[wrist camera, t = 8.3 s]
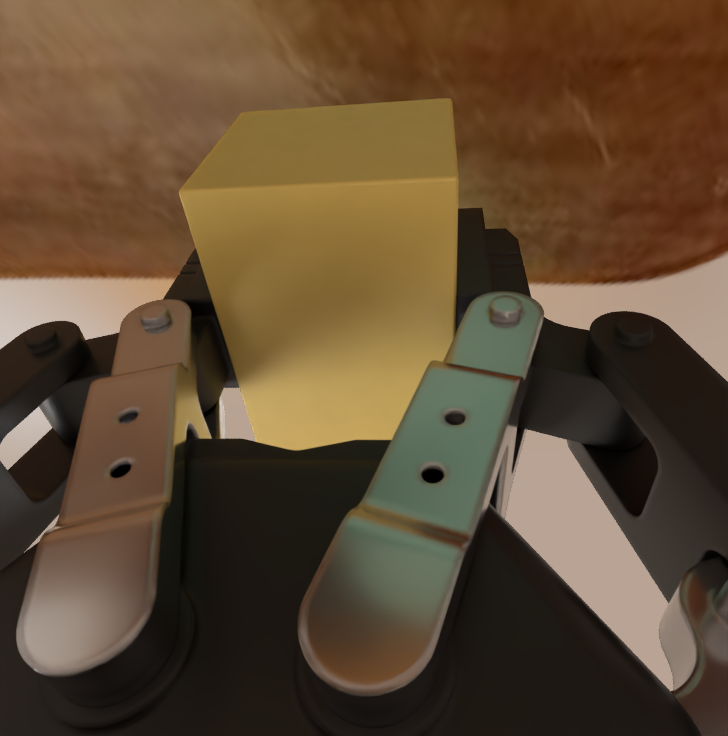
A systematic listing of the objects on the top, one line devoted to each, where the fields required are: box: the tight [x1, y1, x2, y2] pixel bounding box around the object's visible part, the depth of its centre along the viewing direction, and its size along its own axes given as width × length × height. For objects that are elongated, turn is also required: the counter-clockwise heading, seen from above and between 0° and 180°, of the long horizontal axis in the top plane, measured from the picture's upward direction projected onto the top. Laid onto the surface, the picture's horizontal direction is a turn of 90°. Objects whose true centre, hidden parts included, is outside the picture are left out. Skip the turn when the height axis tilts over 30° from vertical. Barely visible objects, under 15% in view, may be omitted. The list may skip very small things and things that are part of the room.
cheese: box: [179, 98, 459, 450], centre depth 12 cm, size 4×6×4 cm
